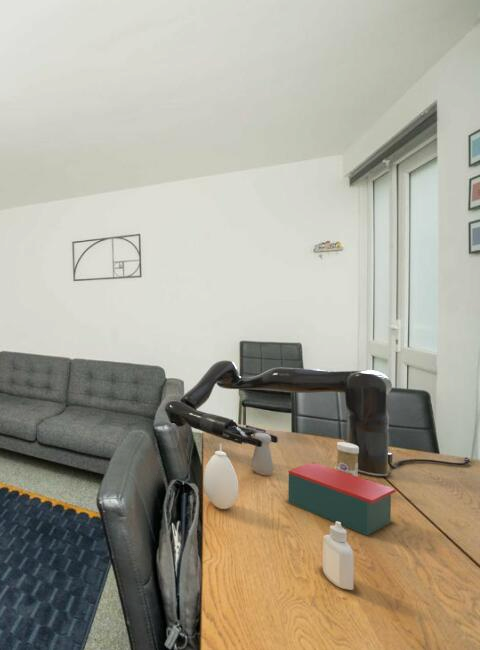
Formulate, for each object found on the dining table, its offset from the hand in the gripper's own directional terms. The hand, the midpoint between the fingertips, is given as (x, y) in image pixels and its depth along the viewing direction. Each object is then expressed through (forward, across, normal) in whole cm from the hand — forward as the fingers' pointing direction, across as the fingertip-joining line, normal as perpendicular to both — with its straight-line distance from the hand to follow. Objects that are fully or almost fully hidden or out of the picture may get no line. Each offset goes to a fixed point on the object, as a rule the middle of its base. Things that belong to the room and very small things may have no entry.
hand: (269, 441), depth 116 cm
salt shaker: (-2, 0, +11) cm, 11 cm away
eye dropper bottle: (+31, -38, +11) cm, 50 cm away
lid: (+20, -7, +3) cm, 21 cm away
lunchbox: (+19, -7, +11) cm, 23 cm away
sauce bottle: (+5, -33, +11) cm, 35 cm away
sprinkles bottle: (+14, +12, +11) cm, 22 cm away
